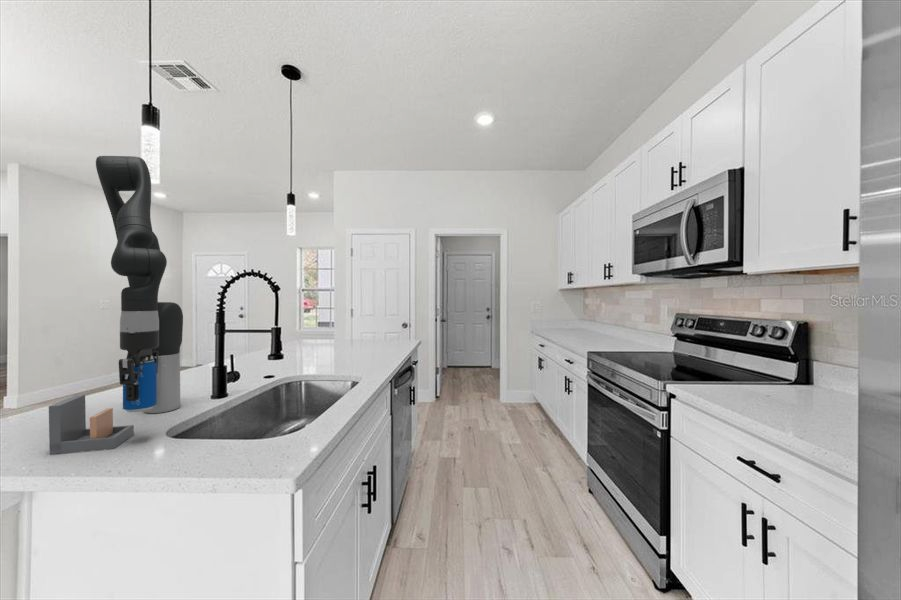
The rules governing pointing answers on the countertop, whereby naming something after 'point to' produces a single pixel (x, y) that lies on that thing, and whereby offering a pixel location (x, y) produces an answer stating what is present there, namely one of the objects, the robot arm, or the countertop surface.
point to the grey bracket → (79, 429)
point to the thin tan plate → (101, 424)
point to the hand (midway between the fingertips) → (140, 396)
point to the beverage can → (144, 389)
